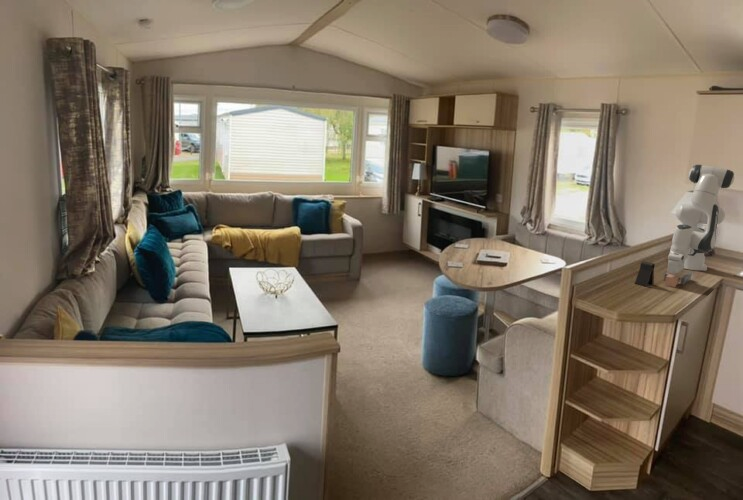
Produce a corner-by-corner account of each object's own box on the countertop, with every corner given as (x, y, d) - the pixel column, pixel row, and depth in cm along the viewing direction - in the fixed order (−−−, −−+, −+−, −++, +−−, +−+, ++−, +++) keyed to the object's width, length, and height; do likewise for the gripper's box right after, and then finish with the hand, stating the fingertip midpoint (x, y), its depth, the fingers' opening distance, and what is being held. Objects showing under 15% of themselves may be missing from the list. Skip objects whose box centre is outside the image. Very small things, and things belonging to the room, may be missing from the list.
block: (667, 282, 307) (668, 273, 306) (677, 284, 305) (679, 275, 303) (664, 285, 301) (666, 276, 300) (674, 287, 298) (676, 278, 297)
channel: (671, 275, 323) (672, 269, 322) (690, 279, 316) (691, 273, 315) (663, 280, 311) (664, 273, 310) (683, 284, 304) (684, 277, 303)
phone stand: (645, 286, 296) (649, 264, 293) (634, 283, 300) (638, 262, 298) (653, 284, 301) (657, 263, 298) (642, 281, 306) (646, 260, 303)
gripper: (677, 250, 314) (672, 274, 317) (667, 255, 299) (662, 280, 302) (689, 253, 310) (685, 277, 313) (680, 258, 295) (675, 283, 298)
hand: (674, 279), depth 307 cm, fingers closed
